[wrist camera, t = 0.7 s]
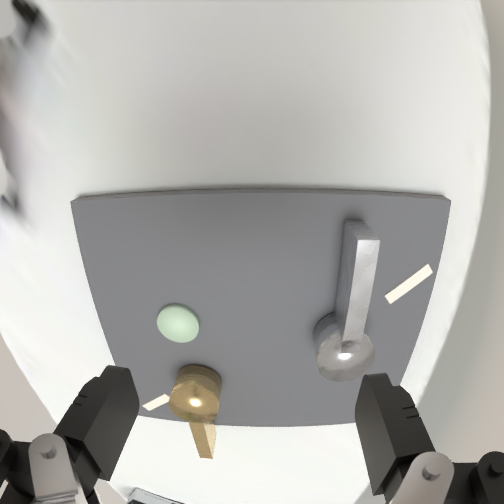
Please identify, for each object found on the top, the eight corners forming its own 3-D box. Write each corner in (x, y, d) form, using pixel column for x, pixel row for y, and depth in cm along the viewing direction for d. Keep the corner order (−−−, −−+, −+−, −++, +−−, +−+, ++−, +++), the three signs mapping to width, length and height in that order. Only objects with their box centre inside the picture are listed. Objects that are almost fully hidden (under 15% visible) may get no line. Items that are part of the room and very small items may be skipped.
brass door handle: (173, 363, 31) (163, 391, 27) (220, 366, 31) (214, 395, 27) (191, 431, 36) (186, 455, 33) (229, 435, 36) (226, 459, 33)
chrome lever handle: (359, 351, 29) (368, 379, 25) (310, 353, 29) (314, 383, 26) (383, 221, 23) (402, 240, 20) (323, 219, 24) (333, 239, 20)
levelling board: (78, 197, 26) (65, 204, 24) (443, 196, 24) (455, 203, 22) (139, 407, 38) (135, 419, 36) (381, 410, 36) (385, 423, 34)
